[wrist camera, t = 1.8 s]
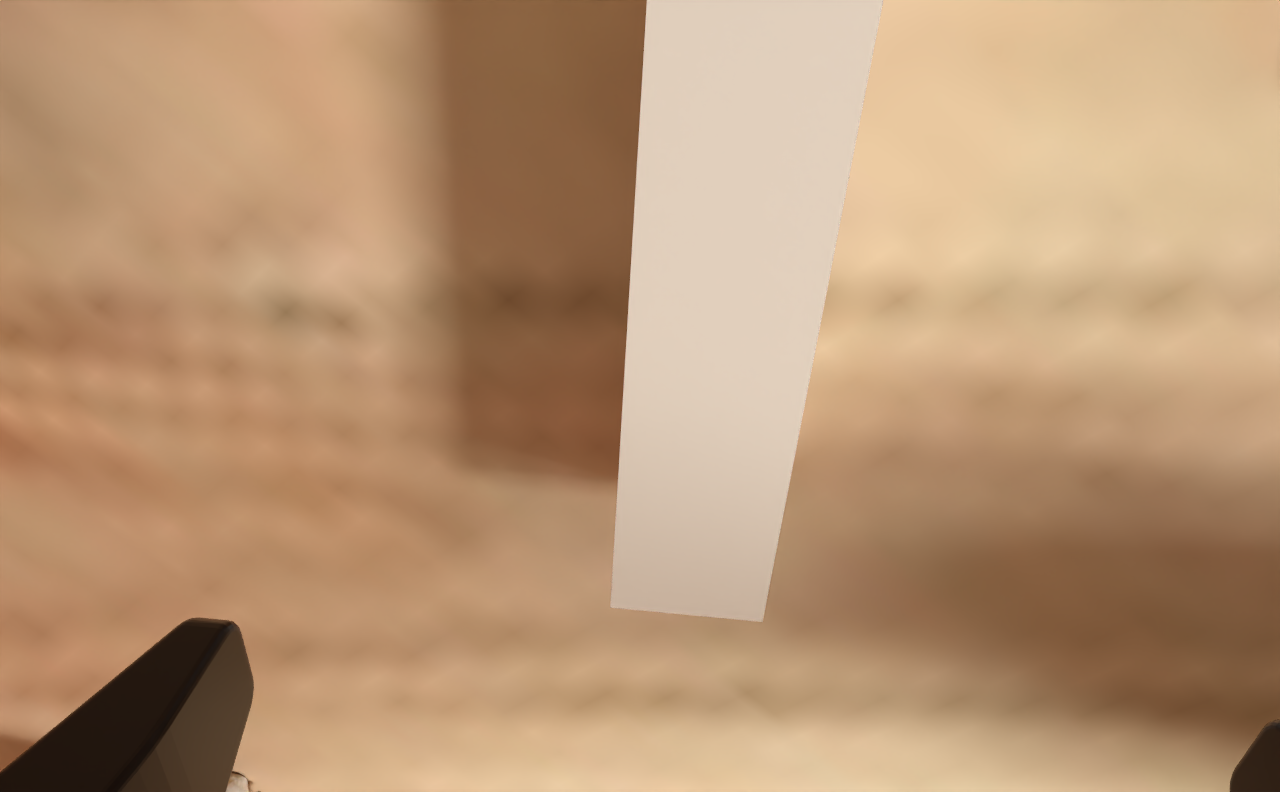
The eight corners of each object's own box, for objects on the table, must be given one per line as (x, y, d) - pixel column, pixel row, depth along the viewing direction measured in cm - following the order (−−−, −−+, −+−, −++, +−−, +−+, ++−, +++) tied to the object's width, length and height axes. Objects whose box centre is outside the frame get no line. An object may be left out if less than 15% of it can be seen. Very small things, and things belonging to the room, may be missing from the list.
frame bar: (758, 485, 23) (762, 622, 20) (627, 473, 24) (610, 607, 20) (910, -404, 14) (963, -411, 11) (686, -420, 14) (672, -432, 11)
